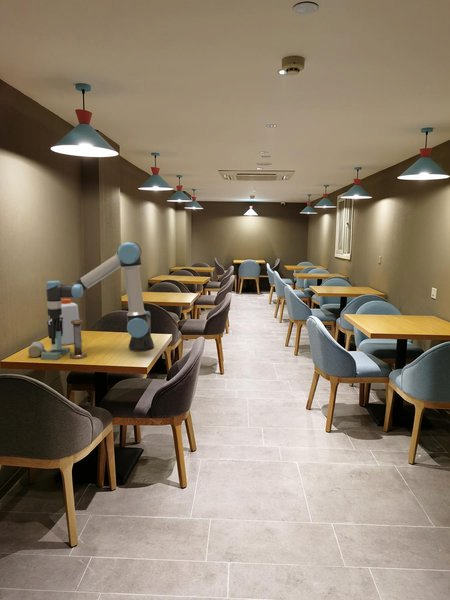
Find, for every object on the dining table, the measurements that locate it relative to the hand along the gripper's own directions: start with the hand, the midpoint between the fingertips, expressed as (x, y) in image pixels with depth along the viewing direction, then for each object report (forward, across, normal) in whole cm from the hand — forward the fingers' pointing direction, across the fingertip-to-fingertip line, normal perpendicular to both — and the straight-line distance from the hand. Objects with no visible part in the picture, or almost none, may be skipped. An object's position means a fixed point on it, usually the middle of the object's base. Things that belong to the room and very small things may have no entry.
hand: (56, 348), depth 263 cm
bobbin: (+4, 0, +13) cm, 14 cm away
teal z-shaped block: (+4, 0, -1) cm, 4 cm away
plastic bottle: (+5, -32, -10) cm, 34 cm away
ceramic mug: (+5, +1, -11) cm, 12 cm away
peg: (0, 0, 0) cm, 0 cm away
